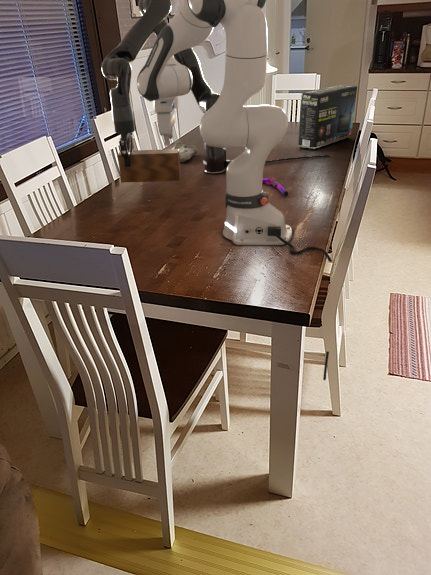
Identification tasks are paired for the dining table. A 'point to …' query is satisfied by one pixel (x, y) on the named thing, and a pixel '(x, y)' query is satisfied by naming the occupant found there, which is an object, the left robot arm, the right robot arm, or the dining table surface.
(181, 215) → the dining table surface
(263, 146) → the right robot arm
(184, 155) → the fossil
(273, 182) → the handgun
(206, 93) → the left robot arm
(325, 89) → the router box
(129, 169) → the box
